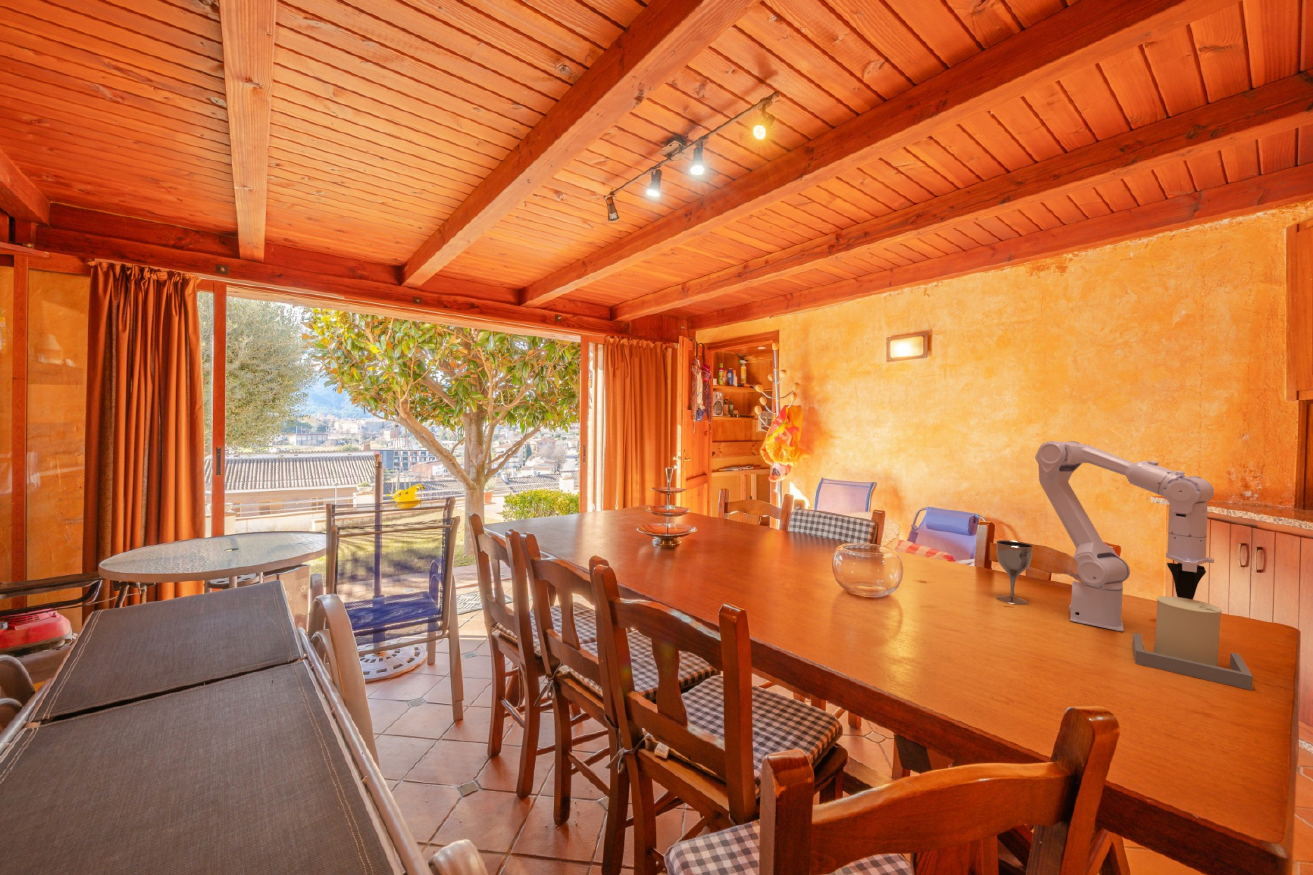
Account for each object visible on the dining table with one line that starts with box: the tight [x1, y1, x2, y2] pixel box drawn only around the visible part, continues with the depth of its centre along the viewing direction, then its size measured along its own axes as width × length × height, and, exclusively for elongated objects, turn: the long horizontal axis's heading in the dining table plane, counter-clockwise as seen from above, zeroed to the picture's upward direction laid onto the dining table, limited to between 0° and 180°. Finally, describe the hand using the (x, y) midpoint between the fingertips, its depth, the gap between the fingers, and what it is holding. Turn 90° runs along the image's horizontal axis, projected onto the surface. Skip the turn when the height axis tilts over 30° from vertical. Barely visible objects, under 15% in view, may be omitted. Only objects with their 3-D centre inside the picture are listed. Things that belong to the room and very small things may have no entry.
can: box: [1153, 595, 1223, 667], centre depth 106 cm, size 9×9×12 cm
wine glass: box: [995, 539, 1034, 606], centre depth 141 cm, size 8×8×15 cm
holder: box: [1132, 632, 1254, 691], centre depth 104 cm, size 15×12×2 cm
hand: (1184, 599), depth 112 cm, fingers closed
